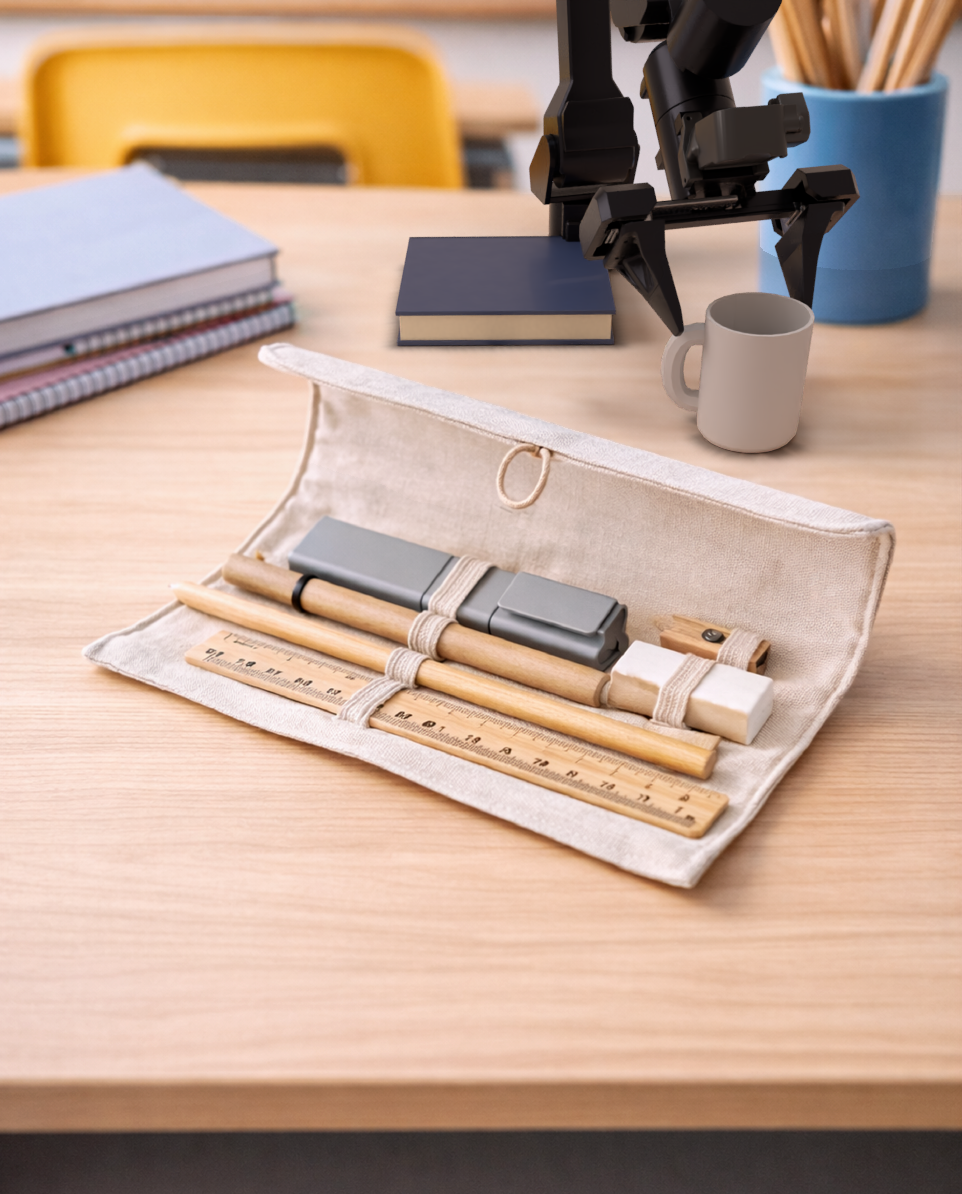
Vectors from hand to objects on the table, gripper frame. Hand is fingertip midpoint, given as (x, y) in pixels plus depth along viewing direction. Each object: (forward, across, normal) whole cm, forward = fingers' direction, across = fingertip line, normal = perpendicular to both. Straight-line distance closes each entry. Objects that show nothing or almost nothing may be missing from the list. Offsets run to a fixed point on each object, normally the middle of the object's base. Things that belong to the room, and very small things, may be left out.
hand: (743, 326), depth 82 cm
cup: (+5, 0, +6) cm, 8 cm away
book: (-14, -10, +25) cm, 30 cm away
